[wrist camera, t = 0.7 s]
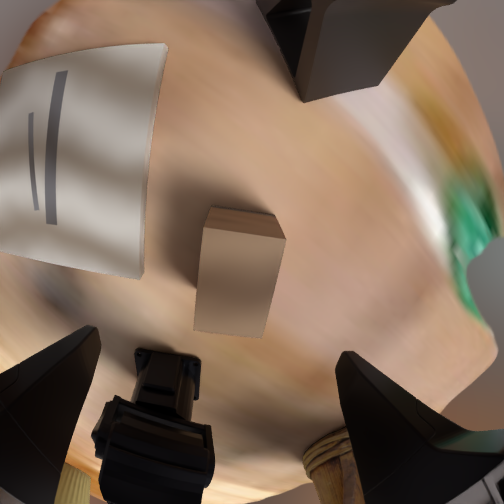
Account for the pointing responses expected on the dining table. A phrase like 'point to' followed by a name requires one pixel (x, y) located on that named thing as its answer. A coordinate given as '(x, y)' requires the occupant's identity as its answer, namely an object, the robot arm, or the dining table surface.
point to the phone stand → (343, 40)
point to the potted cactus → (73, 486)
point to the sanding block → (237, 271)
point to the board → (79, 157)
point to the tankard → (334, 470)
